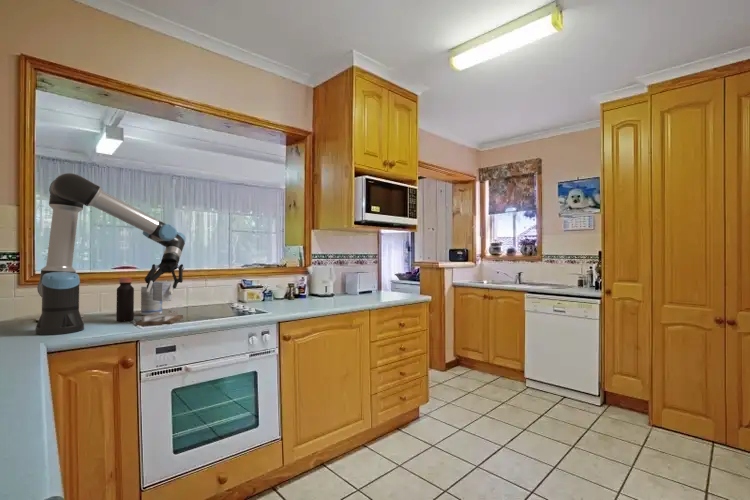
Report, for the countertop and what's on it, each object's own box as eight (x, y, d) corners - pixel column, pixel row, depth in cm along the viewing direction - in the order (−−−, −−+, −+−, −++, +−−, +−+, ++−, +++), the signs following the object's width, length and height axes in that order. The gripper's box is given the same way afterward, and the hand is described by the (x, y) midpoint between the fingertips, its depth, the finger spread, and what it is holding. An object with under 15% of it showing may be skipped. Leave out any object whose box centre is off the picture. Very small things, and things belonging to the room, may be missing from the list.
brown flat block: (135, 325, 168) (135, 317, 168) (151, 318, 186) (151, 311, 186) (170, 324, 171) (170, 316, 171) (183, 318, 188) (183, 310, 189)
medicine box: (171, 300, 179) (171, 281, 179) (161, 301, 175) (162, 282, 175) (162, 299, 183) (162, 281, 183) (152, 300, 179) (152, 281, 179)
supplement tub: (164, 314, 199) (165, 286, 199) (143, 316, 192) (144, 287, 192) (159, 312, 206) (159, 284, 206) (138, 314, 199) (138, 285, 199)
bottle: (117, 322, 175) (118, 278, 176) (115, 320, 181) (115, 277, 181) (134, 320, 180) (135, 277, 180) (132, 319, 185) (132, 277, 185)
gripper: (195, 262, 196) (186, 298, 180) (150, 262, 192) (136, 298, 176) (192, 252, 191) (182, 287, 175) (145, 252, 187) (131, 288, 171)
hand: (159, 293), depth 176 cm, fingers closed on medicine box, 8 cm apart
